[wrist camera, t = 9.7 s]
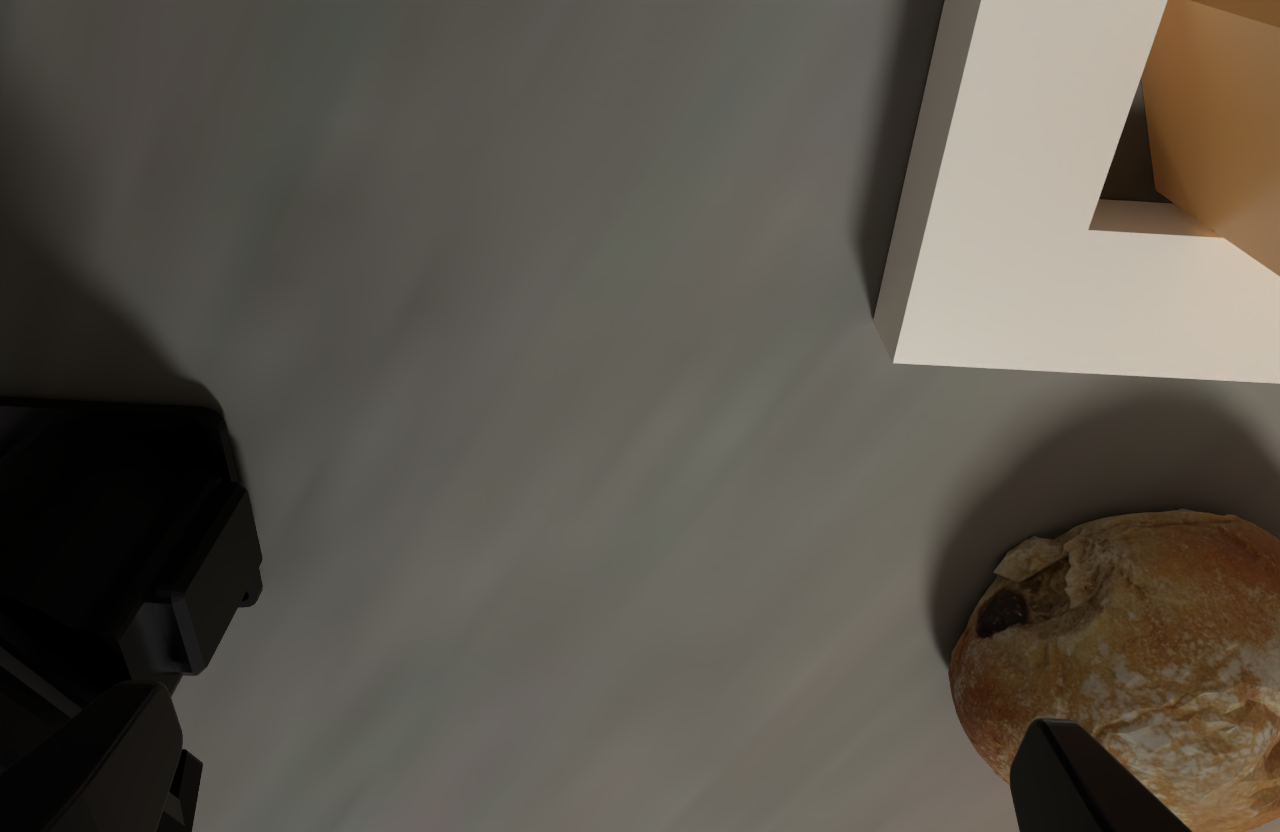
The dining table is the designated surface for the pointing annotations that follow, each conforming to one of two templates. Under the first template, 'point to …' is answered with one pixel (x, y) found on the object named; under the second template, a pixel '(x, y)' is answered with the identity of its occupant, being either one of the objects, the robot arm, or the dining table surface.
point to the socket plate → (1057, 214)
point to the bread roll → (1139, 657)
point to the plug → (1219, 118)
